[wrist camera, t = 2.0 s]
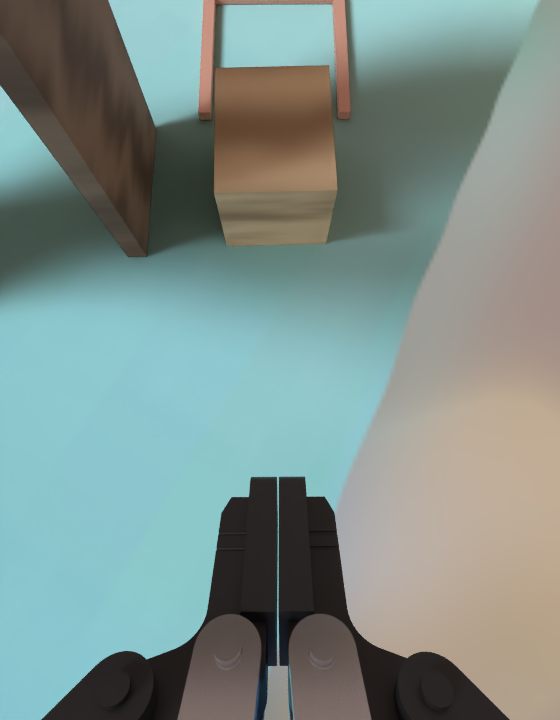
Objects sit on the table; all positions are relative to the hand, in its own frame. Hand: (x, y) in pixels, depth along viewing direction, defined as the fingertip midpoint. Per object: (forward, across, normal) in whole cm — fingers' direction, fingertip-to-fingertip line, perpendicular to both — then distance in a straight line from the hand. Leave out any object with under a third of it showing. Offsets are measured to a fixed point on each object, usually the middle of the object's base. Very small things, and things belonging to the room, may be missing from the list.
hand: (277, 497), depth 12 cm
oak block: (+29, 0, -3) cm, 29 cm away
